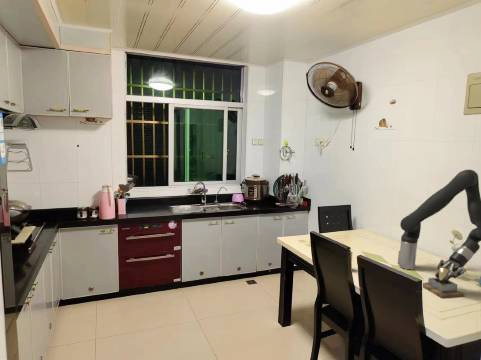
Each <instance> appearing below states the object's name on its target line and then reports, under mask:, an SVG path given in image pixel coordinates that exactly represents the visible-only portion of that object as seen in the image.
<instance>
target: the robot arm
mask: <svg viewBox="0 0 481 360" xmlns="http://www.w3.org/2000/svg"><path fill="white" fill-rule="evenodd" d="M463 191H465V193H466V194H465V195H466V203H467V204H466V205H467V212H468V217H469V220H470V223H471V224H472V225H474V226H475V228H472V229H471V231H470V232H469V234H468V235H467V237H466V239H465V241H464V242H463V243H462V244H461V245H460V246H459V247H458V249H457V250H456V251H455V252H454V253H453V252H452V254H451V255H449V258H448V259H447V260H443V259H440V261H439V263H438V265H437V267H436V268H437V272H436V273H435V275H434V277H435V278H438V277H439V268H440V267H441V266H442V267H447V268H449V273H448V275H446V276H445V277H444V278H443V281H444V282H447V281H448V280H450V279H451V278H452V279H456V278H458V277H460V276H461V275H463V274H464V273H465V270H464V269H462V268H461V267H463V266H464V267H465V265H467V263H468V262H469V261H470V260H471V259H472V258H473V257H474V255H475V254H476V253H477V252H478V251H479V250H480V248H481V246H480V244H479V243H480V242H481V192H480V183H479V174H478V173H477V172H476V171H475V170H473V169H465V170H461V171H459V172H458V173H457V174H455V176H454V177H453V178H452V179H451V180H450V181H449V182H447V184H446V185H445V186H443V187H442V188H440V189H439V190H438V191H435V193H433V194H432V195H431V196H429V197H428V198H427V199H426V200H425V201H424V202H423V203H421V204H420V205H419V206H418V207H417V208H415V210H414V211H412V212H410V213H409V214H408V215H406V216H405V217H403V218H402V219H401V221H400V224H399V226H400V228H401V230H403V231H404V232H403V234H402V235H401V238H400V248H399V250H398V257H397V265H398V264H399V265H398V267H399V266H400V267H399V268H401V267H402V268H401V269H403V268H406V269H405V270H407V269H411V270H410V271H413V270H415V269H416V268H415V267H416V260H417V259H416V258H417V249H418V241H419V238H420V235H421V229H422V228H421V227H422V222H423V221H425V220H426V219H428V218H430V217H432V216H434V215H436V214H437V213H439V212H440V211H442V210H443V209H445V208H446V207H447V206H448V205H449V204H450V203H451V202H452V201H453V200H454V198H455V197H457V196H458V195H459V194H461V193H462V192H463Z"/></svg>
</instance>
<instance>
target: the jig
mask: <svg viewBox="0 0 481 360" xmlns="http://www.w3.org/2000/svg"><path fill="white" fill-rule="evenodd" d="M427 280H428V281H427V282H422V283H423V287H422V288H423V289H425V290H427V291H428V292H430V293H432V294H433V295H435V296H437V297H439V298H440V299H445V298H447V299H448V298H449V299H450V298H460V297H464V296H465V293H464V292H462V291H461V290H458V286H459V285H458V284H457V283H455V282H453V281H451V280H450V279H449V280H448V284H441V283H439V282H438V278H437V277H428V279H427Z"/></svg>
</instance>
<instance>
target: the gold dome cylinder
mask: <svg viewBox="0 0 481 360" xmlns="http://www.w3.org/2000/svg"><path fill="white" fill-rule="evenodd" d="M438 271H439V277H438V282H439V283H441V284H448V281H447V282H444V281H443V278H444V277H445V276H446V275H448V273H449V268H447V267H442V266H441V267H440V268H439V269H438Z"/></svg>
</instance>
